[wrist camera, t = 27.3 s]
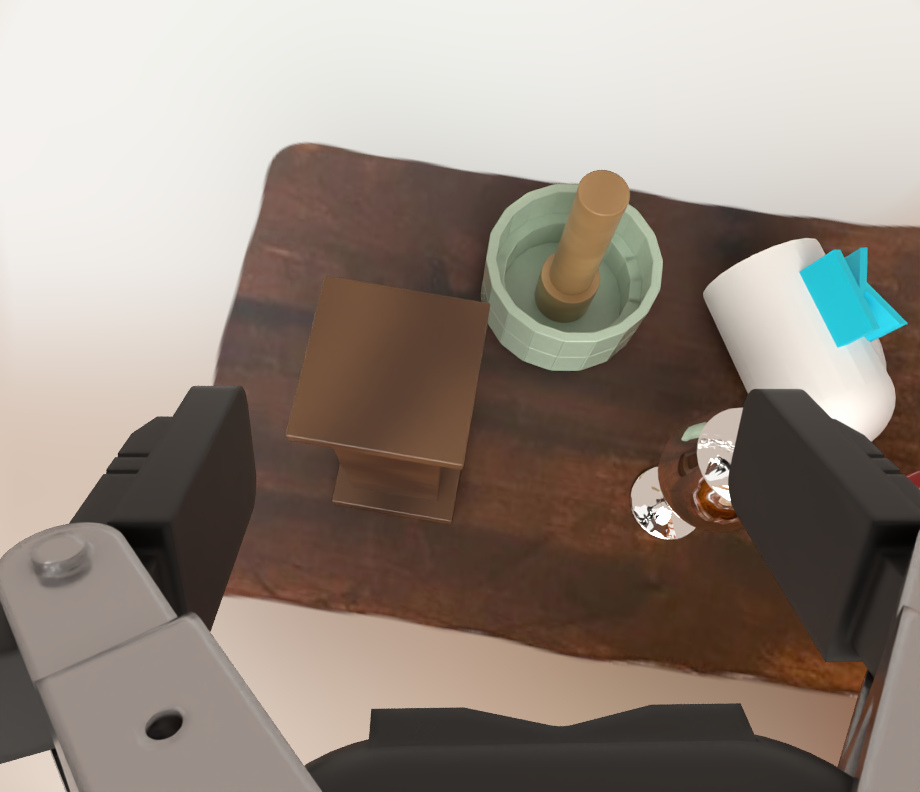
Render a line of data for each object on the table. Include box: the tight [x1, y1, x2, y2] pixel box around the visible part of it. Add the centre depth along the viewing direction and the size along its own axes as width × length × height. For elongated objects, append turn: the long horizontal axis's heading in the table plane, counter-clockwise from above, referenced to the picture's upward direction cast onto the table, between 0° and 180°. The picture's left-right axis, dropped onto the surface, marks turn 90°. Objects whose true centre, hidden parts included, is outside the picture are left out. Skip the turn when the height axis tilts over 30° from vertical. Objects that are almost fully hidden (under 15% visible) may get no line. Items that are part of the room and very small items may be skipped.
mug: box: [703, 238, 908, 442], centre depth 45 cm, size 12×9×12 cm
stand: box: [286, 276, 491, 524], centre depth 38 cm, size 7×7×16 cm
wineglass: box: [630, 408, 745, 540], centre depth 39 cm, size 6×6×12 cm
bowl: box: [481, 184, 663, 371], centre depth 46 cm, size 10×10×6 cm
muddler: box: [535, 170, 630, 323], centre depth 43 cm, size 4×4×12 cm
